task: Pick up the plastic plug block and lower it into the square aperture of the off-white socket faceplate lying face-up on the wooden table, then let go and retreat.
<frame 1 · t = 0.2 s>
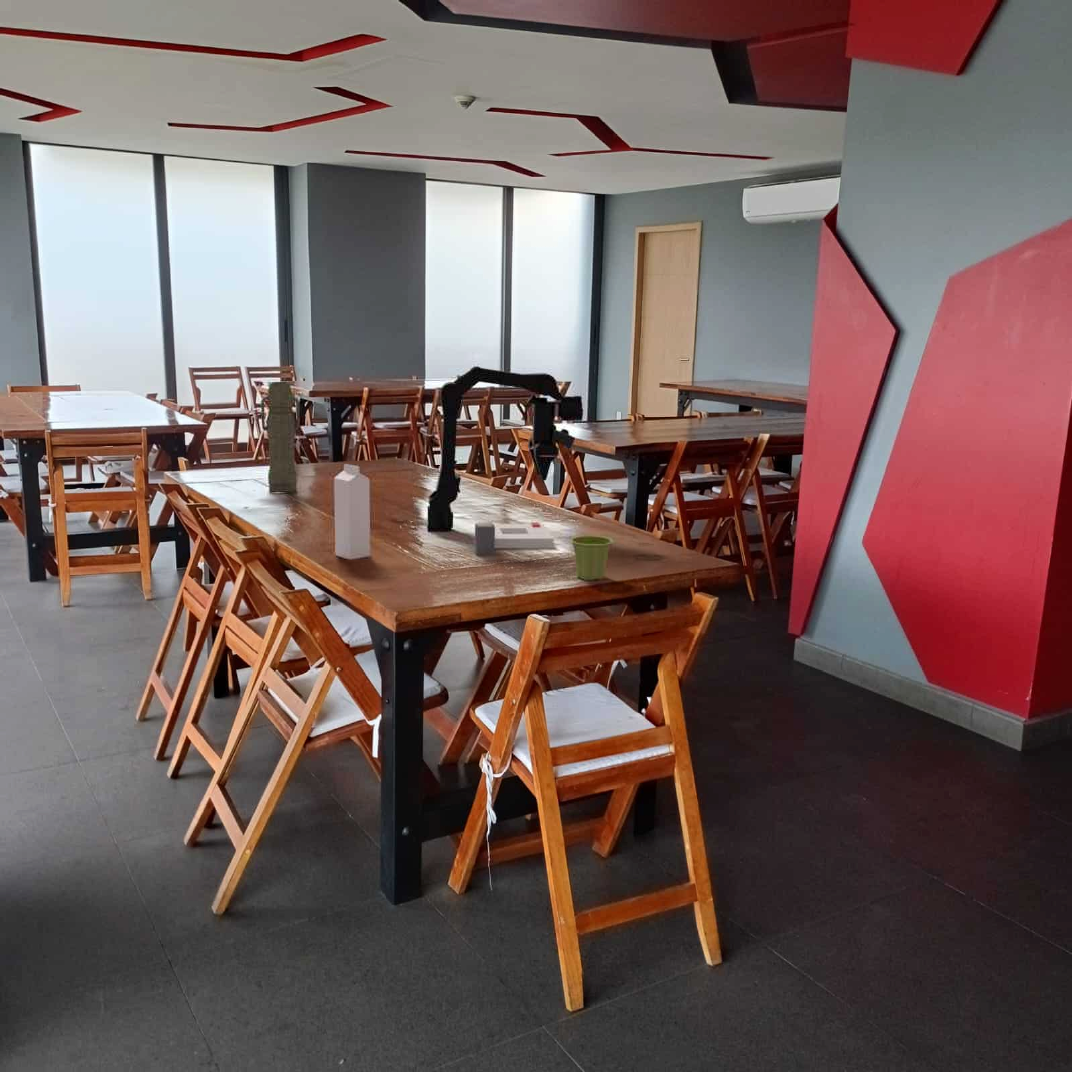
hand: (541, 477, 271), 15 cm above the table, fingers open, 9 cm apart
milk: (352, 556, 238), on the table
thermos: (283, 491, 322), on the table
socket plate: (514, 540, 259), on the table
plug: (484, 553, 245), on the table
plant pot: (590, 578, 224), on the table
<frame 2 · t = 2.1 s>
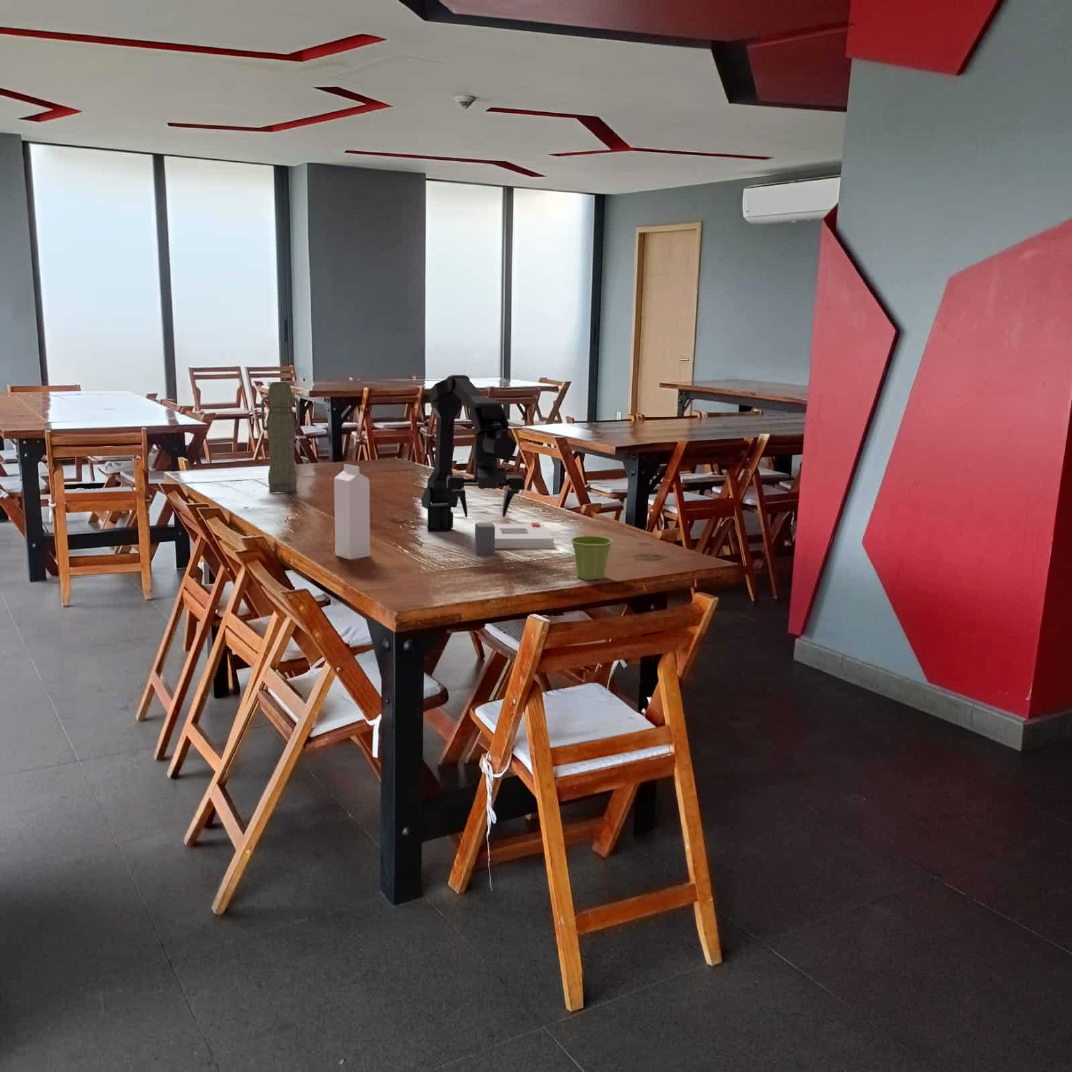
hand: (484, 517, 243), 9 cm above the table, fingers open, 9 cm apart
nothing on the table moved.
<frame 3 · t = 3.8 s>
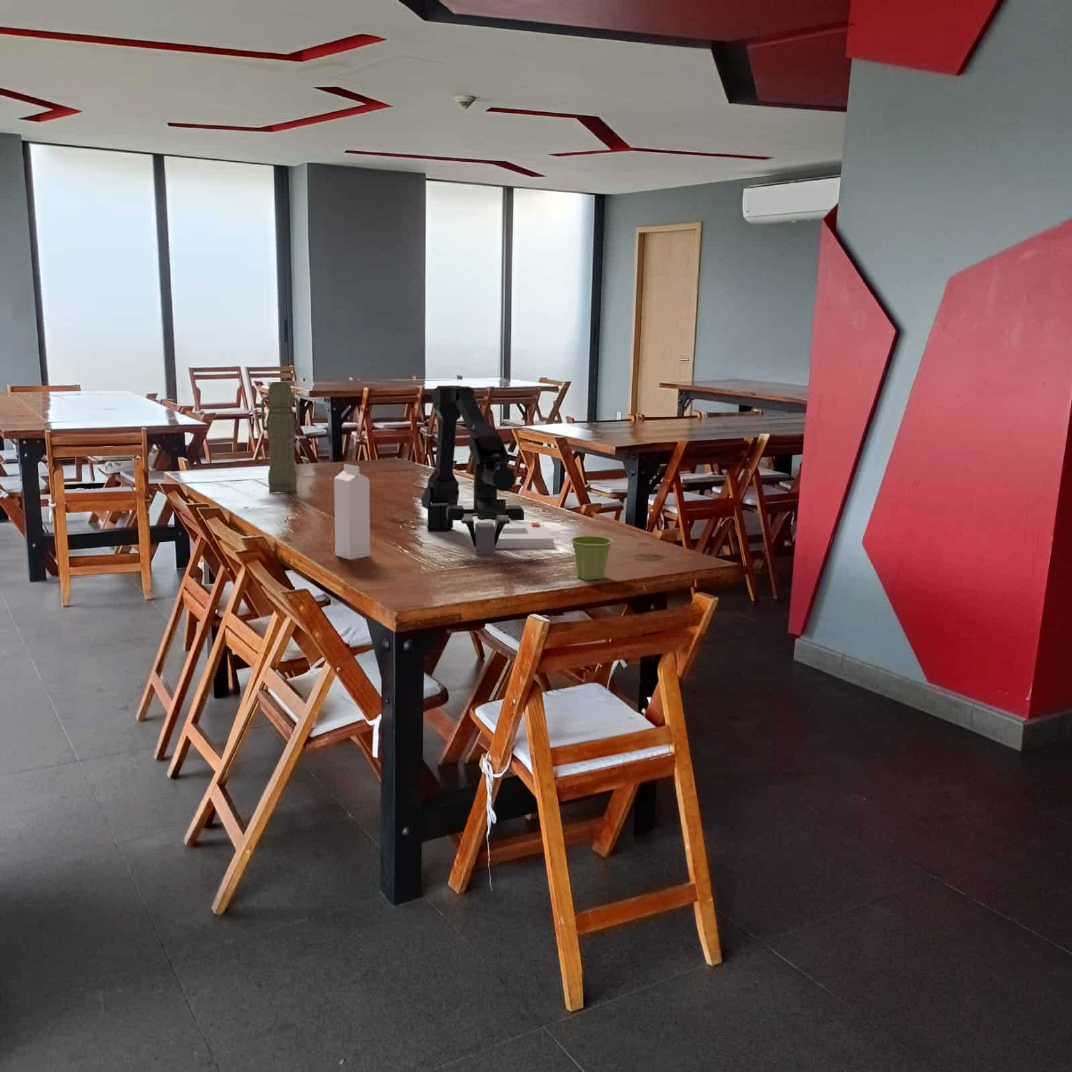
hand: (484, 546, 244), 2 cm above the table, fingers closed on plug, 4 cm apart
plug: (484, 553, 245), on the table, touching gripper
everything else where it was.
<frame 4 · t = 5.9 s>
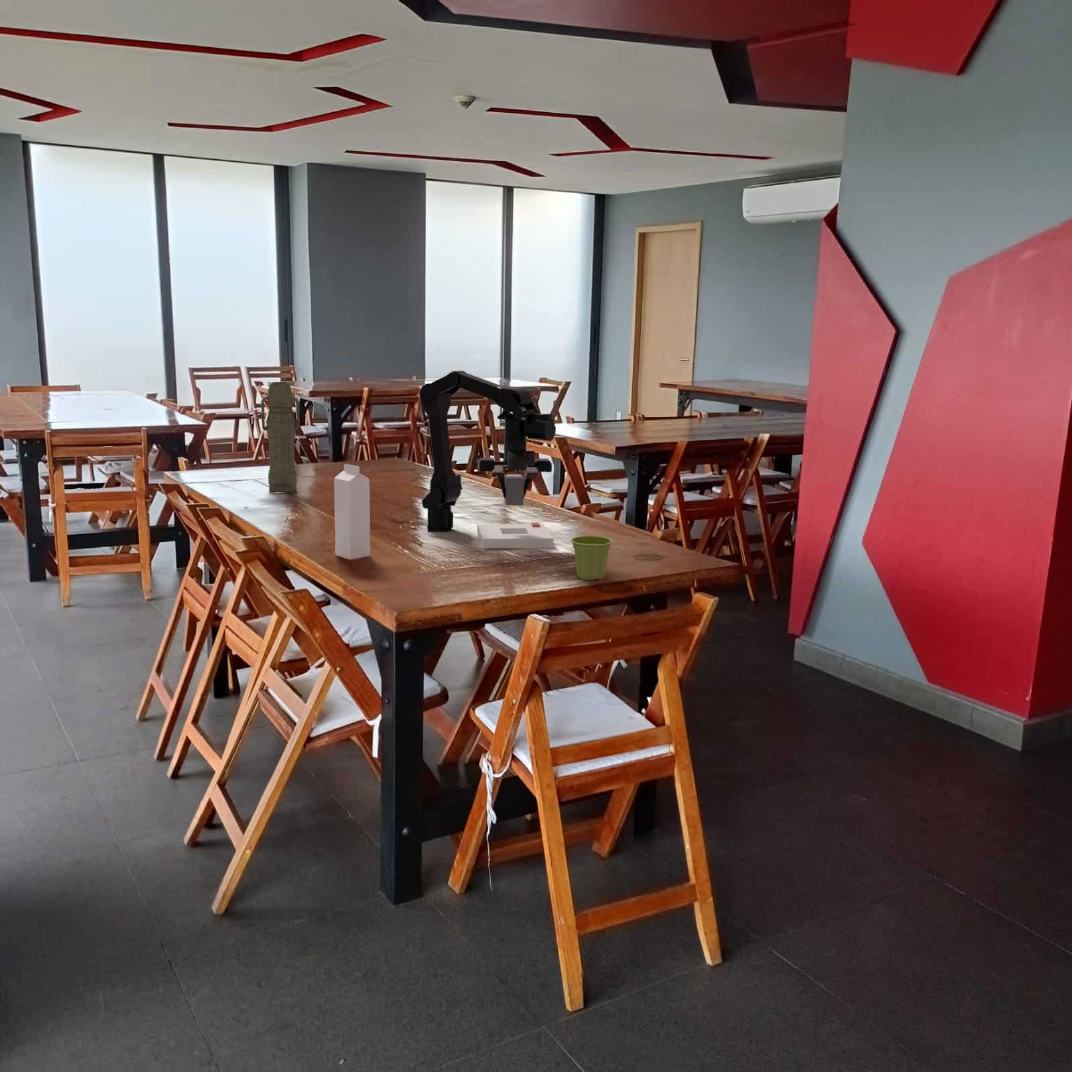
hand: (513, 497, 256), 11 cm above the table, fingers closed on plug, 4 cm apart
plug: (513, 503, 257), point 10 cm above the table, touching gripper
everything else where it was.
when the fingers open (3 cm above the table, at t = 7.9 s): plug drops 2 cm, resting in socket plate.
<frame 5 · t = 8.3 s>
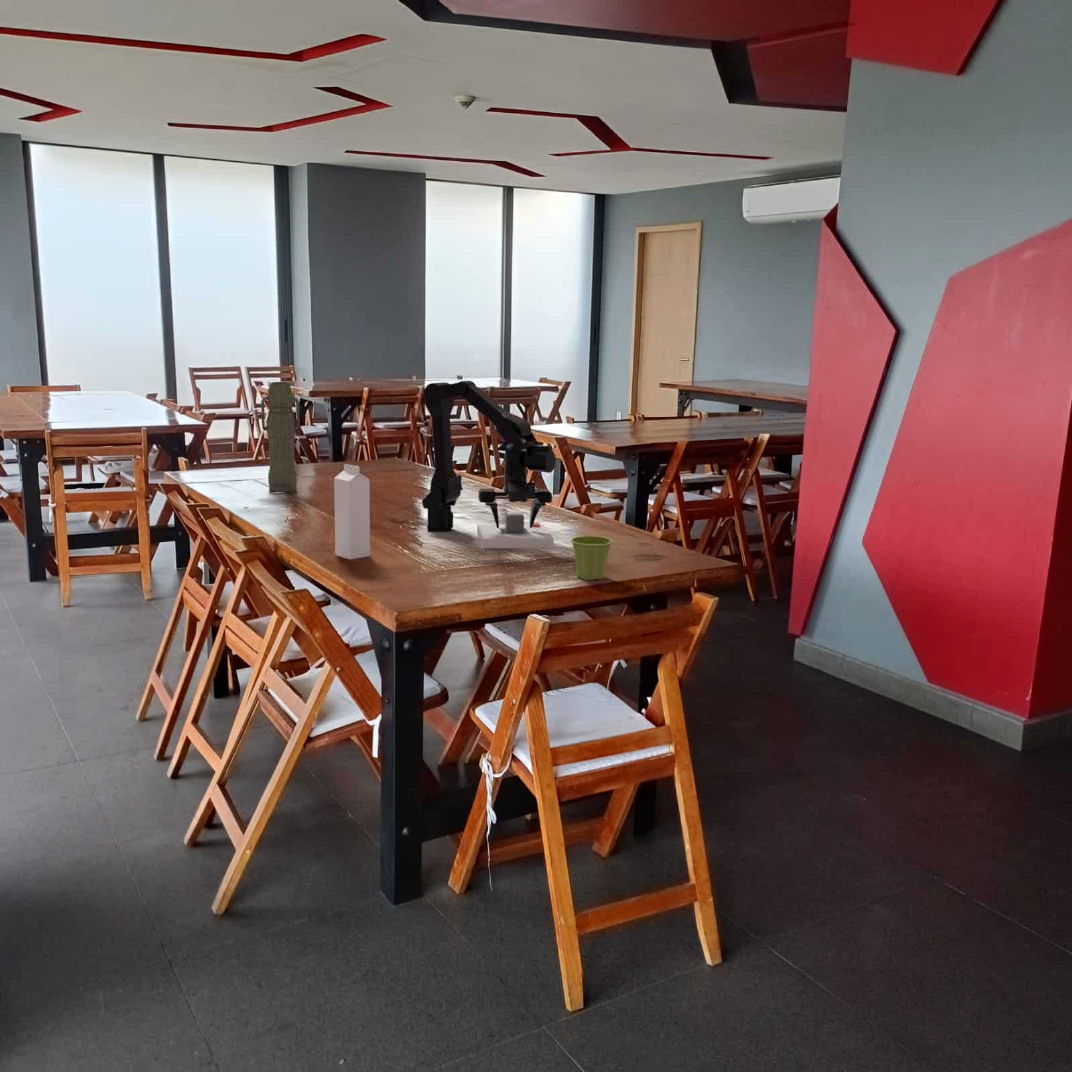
hand: (514, 528, 259), 3 cm above the table, fingers open, 8 cm apart
plug: (513, 540, 259), resting in socket plate
everything else where it was.
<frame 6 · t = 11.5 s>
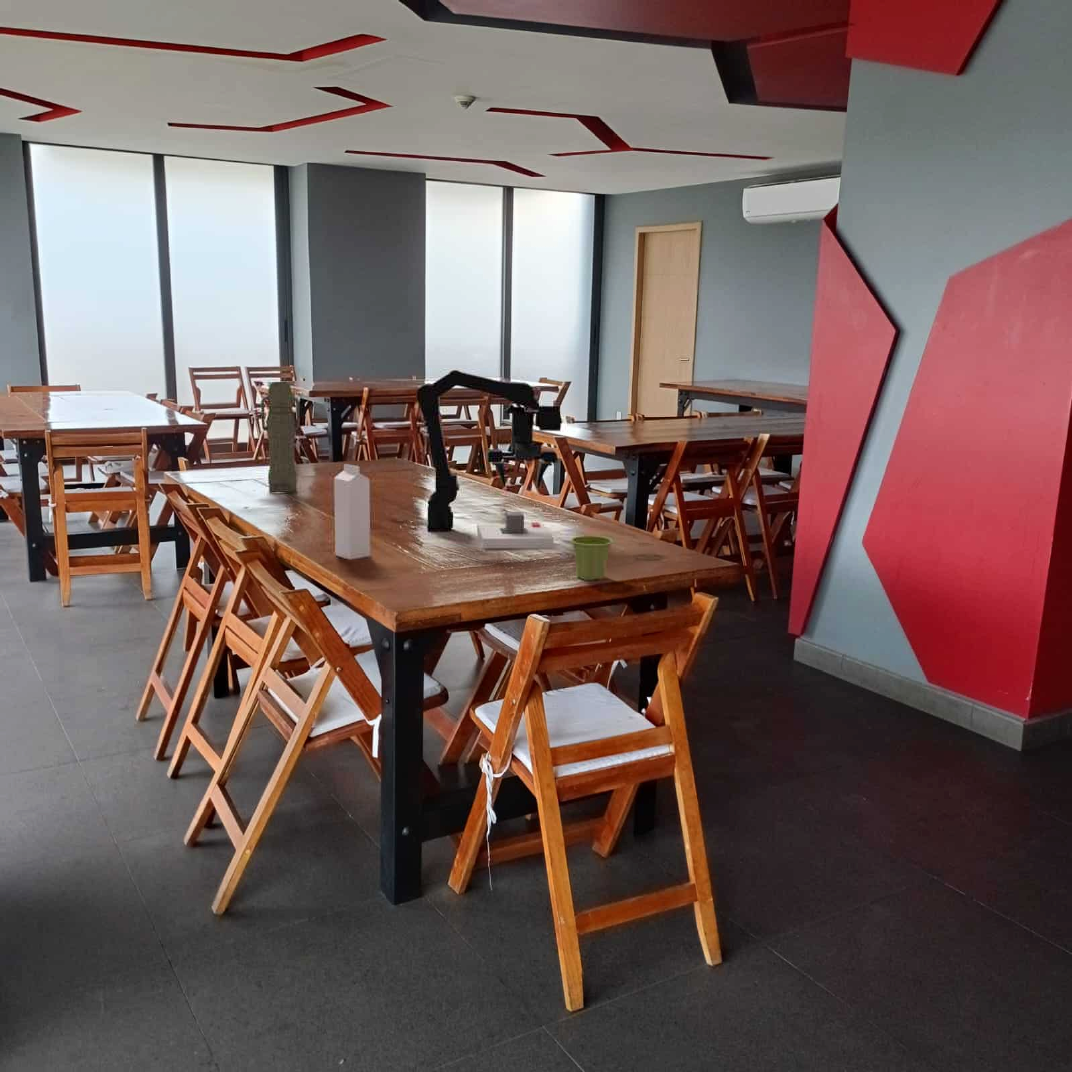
hand: (520, 487, 269), 12 cm above the table, fingers open, 9 cm apart
nothing on the table moved.
at the end: plug 0.0 cm off-centre on the socket plate, point 0.0 cm above the socket plate's base; plug tilted 0°; the gripper is holding nothing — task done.
